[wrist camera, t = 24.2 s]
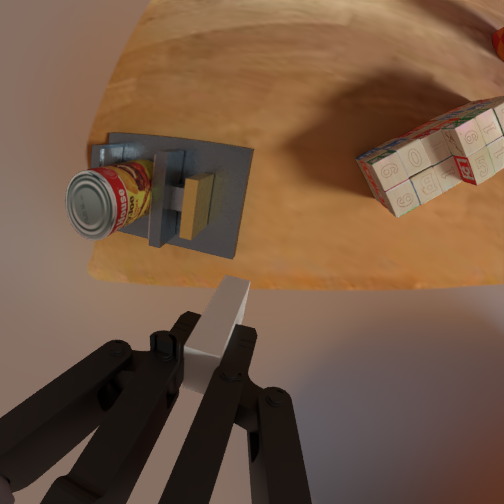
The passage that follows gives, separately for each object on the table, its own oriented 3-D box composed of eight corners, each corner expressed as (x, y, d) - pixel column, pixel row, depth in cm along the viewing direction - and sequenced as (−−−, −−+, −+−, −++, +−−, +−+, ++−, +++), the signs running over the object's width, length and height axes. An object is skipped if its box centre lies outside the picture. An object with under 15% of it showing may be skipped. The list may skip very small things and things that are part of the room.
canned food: (147, 224, 40) (97, 254, 29) (112, 189, 39) (57, 209, 28) (177, 183, 37) (127, 202, 26) (138, 148, 36) (81, 155, 25)
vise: (253, 148, 35) (243, 150, 29) (234, 255, 41) (222, 275, 35) (115, 132, 37) (88, 133, 31) (109, 224, 43) (85, 237, 37)
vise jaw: (217, 155, 34) (201, 158, 29) (204, 243, 39) (189, 259, 34) (170, 148, 35) (149, 150, 30) (162, 233, 40) (142, 247, 34)
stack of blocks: (375, 200, 35) (405, 227, 23) (353, 158, 33) (377, 165, 22) (488, 140, 28) (541, 146, 16) (471, 100, 26) (523, 93, 15)
